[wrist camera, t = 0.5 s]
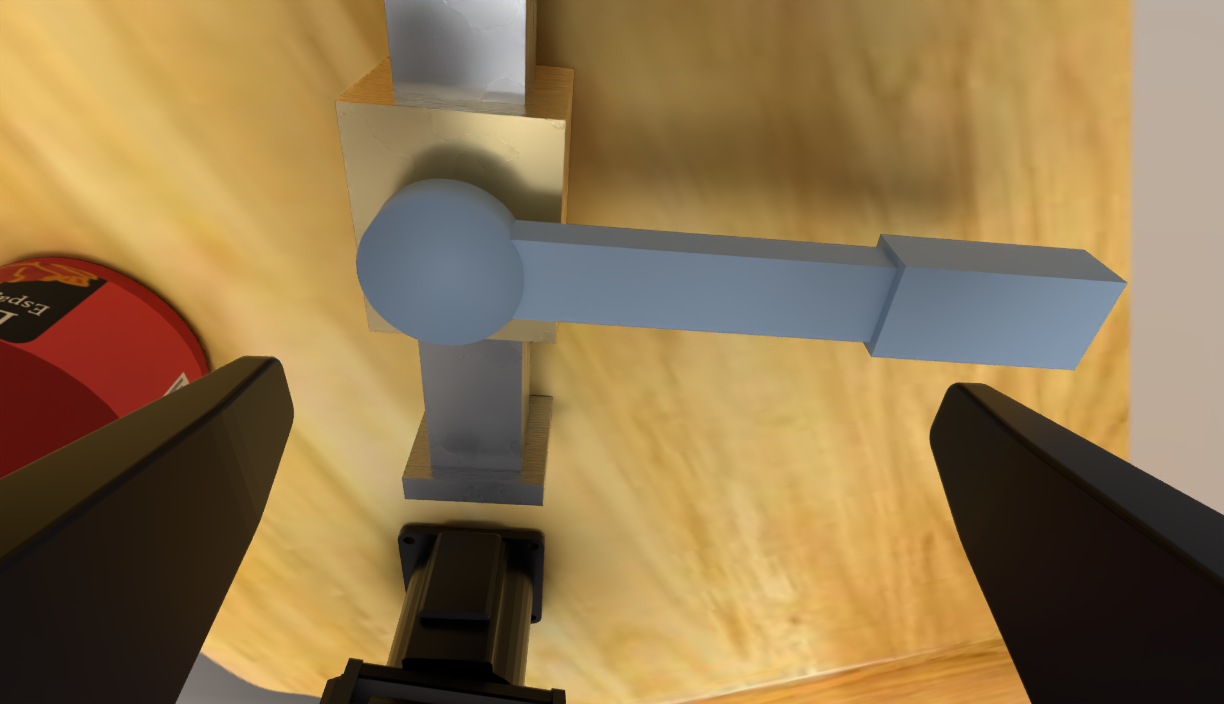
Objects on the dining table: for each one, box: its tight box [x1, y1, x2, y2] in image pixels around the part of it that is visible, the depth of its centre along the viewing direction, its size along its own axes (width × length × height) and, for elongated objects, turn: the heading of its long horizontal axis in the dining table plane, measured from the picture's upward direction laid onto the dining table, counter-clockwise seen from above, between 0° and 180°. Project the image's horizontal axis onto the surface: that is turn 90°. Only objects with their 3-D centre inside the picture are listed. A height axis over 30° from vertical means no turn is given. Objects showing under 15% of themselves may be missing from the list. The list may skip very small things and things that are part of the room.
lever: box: [356, 179, 1127, 370], centre depth 16 cm, size 4×17×2 cm, turn 85°
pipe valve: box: [335, 0, 574, 506], centre depth 18 cm, size 20×5×5 cm, turn 175°
